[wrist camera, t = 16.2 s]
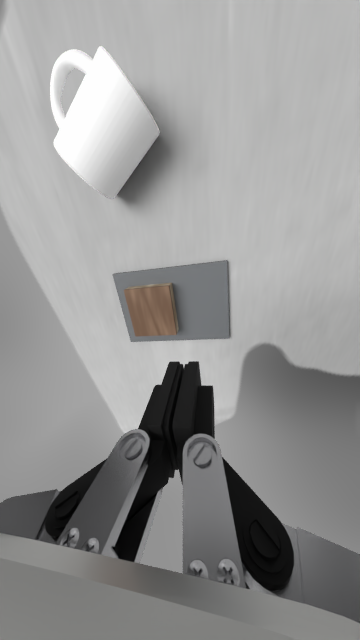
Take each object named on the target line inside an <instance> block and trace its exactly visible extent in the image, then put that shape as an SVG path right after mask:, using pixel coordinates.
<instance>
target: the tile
mask: <svg viewBox="0 0 360 640" xmlns="http://www.w3.org/2000/svg"><path fill="white" fill-rule="evenodd" d="M124 294H125V298H126V302H127V306H128V309H129V313H130V317H131V321H132V325H133V329H134V333H135V336H162V335H177V332H178V330H179V328H178V321H177V314H176V307H175V300H174V294H173V287H172V283H163V284H153V285H143V286H132V287H128V288H126V289H125V290H124Z"/></svg>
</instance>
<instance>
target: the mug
mask: <svg viewBox="0 0 360 640" xmlns="http://www.w3.org/2000/svg"><path fill="white" fill-rule="evenodd" d="M73 69H78V70H80V71H82V72H83V73H84V74H86V75H85V77H84V79H83V81H82V83H81V85H80V88H79V90H78V92H77V94H76V96H75V98H74V100H73V102H72V104H71V106H70V108H69V111H68V113H67V115H66V116H65V114H64V111H63V108H62V104H61V98H62V92H63V88H64V85H65V82H66V79H67V77H68V75H69V73H70V72H71V71H72V70H73ZM50 98H51V106H52V111H53V115H54V118H55V120H56V123H57V125H58V127H59V132H58V134H57V136H56V138H55V140H54V147H55V149H56V150H57V152H58V153H59V155H60V156H61V157H62V159H63V160H64V161H65V162H66V163H67V164H68V165H69V166H70V167H71V169H72V170H73V171H74V172H75V173H76V174H78V175H79V176H80V177H81V178H82V179H83V180H84V181H85V182H86V183H88V184H89V185H90V186H91V187H92V188H94V189H95V190H96V191H98V192H99V193H100V194H102V195H104V196H105V197H107V198H110V199H114V198H115V197H116V195H117V194H118V193H119V191H120V190H121V188H122V187H123V185H124V184H125V183H126V181H127V180H128V178H129V177H130V175H131V174H132V173H133V171H134V170H135V168H136V167H137V165H138V164H139V163H140V161H141V160H142V158H143V157H144V156H145V154H146V153H147V151H148V150H149V148H150V147H151V146H152V144H153V143H154V141H155V140H156V138H157V137H158V136H159V134H160V131H159V128H158V126H157V124H156V122H155V120H154V118H153V116H152V115H151V113H150V111H149V110H148V108H147V107H146V105H145V103H144V102H143V100H142V99H141V97H140V96H139V94H138V93H137V91H136V90H135V88H134V87H133V85H132V84H131V82H130V81H129V79H128V78H127V76H126V75H125V74H124V72H123V71H122V69H121V68H120V67H119V65H118V64H117V63H116V61H115V60H114V59H113V57H112V56H111V55H110V54H109V52H108V51H107V50H106V49H105V48H104V47H102V46H99V48H98V50H97V52H96V54H95V56H94V58H93V59H92V58H91V57H90V56H89V55H88V54H86V53H84V52H83V51H80V50H76V49H72V50H68V51H66V52H64V53H63V54H62V55H61V56H60V57H59V58H58V59H57V61H56V62H55V65H54V67H53V70H52V75H51V82H50Z"/></svg>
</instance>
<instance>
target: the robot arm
mask: <svg viewBox="0 0 360 640" xmlns="http://www.w3.org/2000/svg"><path fill="white" fill-rule="evenodd" d="M178 469H179V472H180V476H181V481H182V485H183V574H182V573H178V572H173V571H169V570H165V569H160V568H156V567H152V566H148V565H143V564H140V561H141V558H142V555H143V551H144V548H145V545H146V542H147V539H148V536H149V532H150V529H151V526H152V523H153V520H154V516H155V513H156V510H157V507H158V504H159V501H160V497H161V495H162V489H163V487H164V486H165V485H166V484H167V483H168V479H169V477H171V478H173V477H174V472H175V470H178ZM0 640H360V554H358V553H356V552H353V551H351V550H349V549H347V548H344V547H342V546H340V545H338V544H335V543H333V542H330V541H328V540H326V539H324V538H322V537H319V536H317V535H315V534H312V533H310V532H308V531H306V530H303V529H301V528H299V527H297V529H294V528H292V527H290V526H288V525H285V524H283V523H281V522H280V521H279V519H278V518H277V517H276V516H275V515H274V514H273V513H272V511H271V510H270V509H269V508H268V507H267V506H266V505H265V504H264V503H263V501H261V499H260V498H259V497H258V496H257V495H256V494H255V493H254V491H253V490H252V489H251V488H250V487H249V486H248V485H247V484H246V483H245V482H244V481H243V480H242V478H241V477H240V476H239V475H238V474H237V473H236V472H235V471H234V470H233V468H232V467H231V466H230V465H229V464H228V463H227V462H226V461H225V460H224V459H223V457H222V455H221V450H220V447H219V444H218V443H217V442H216V440H215V437H214V396H213V386H201V378H200V369H199V362H189V363H188V364H185V367H183V364H180V362H169V365H168V367H167V370H166V373H165V376H164V379H163V382H162V385H156V386H155V387H154V389H153V392H152V395H151V397H150V400H149V402H148V405H147V407H146V410H145V412H144V415H143V418H142V420H141V423H140V425H139V428H138V429H135V430H131V431H129V432H127V433H125V434H124V435H123V436H122V437H121V438H120V439H119V441H118V442H117V443H116V445H115V447H114V448H113V450H112V452H111V453H110V455H109V456H108V458H107V459H106V460H104V461H103V462H101V463H100V464H98V465H97V466H96V467H94V468H93V469H91V470H90V471H88V472H87V473H86V474H84V475H83V476H81V477H80V478H78V479H77V480H76V481H75V482H73V483H71V484H70V485H68V486H67V487H66V488H65V489H63V490H62V491H58V490H57V489H56V490H50V491H44V492H38V493H33V494H27V495H21V496H15V497H11V498H8V499H6V500H4V501H3V502H1V503H0Z"/></svg>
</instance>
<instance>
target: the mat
mask: <svg viewBox="0 0 360 640" xmlns="http://www.w3.org/2000/svg"><path fill="white" fill-rule="evenodd" d="M113 277H114V281H115V285H116V289H117V292H118V296H119V300H120V303H121V307H122V311H123V314H124V318H125V322H126V325H127V329H128V333H129V336H130V340H131V342H137V341H167V340H196V339H225V338H229V307H228V272H227V260H226V261H218V262H209V263H201V264H192V265H184V266H175V267H167V268H158V269H150V270H141V271H133V272H124V273H116V274H113ZM163 283H172V287H173V294H174V300H175V307H176V314H177V321H178V328H179V330H178V332H177V335H162V336H135V333H134V329H133V325H132V321H131V317H130V313H129V309H128V306H127V302H126V298H125V294H124V290H125V289H126V288H128V287H132V286H143V285H153V284H163Z"/></svg>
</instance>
